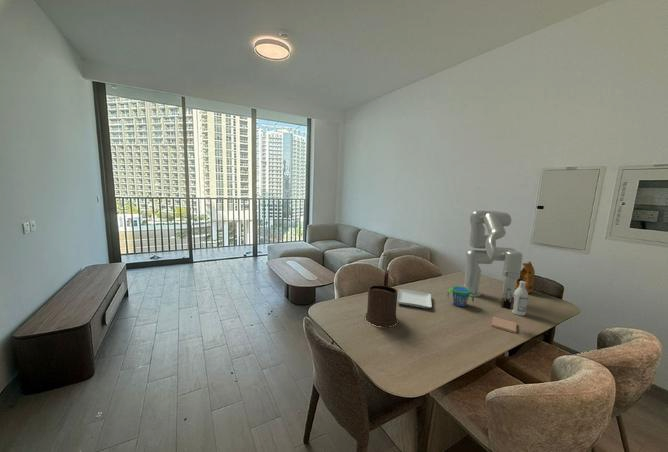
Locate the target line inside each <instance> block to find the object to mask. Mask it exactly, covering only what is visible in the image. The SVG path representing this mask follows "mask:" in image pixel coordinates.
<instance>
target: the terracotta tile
mask: <svg viewBox="0 0 668 452" xmlns="http://www.w3.org/2000/svg"><path fill="white" fill-rule="evenodd" d="M492 327H493V328H496V329H499V330H502V331H506V332H509V333H513V334H517V321H512V320H509V319H508V320H507V319H504V318H500V317H497V316H493V317H492V320H491V328H492Z"/></svg>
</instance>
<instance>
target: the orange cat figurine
mask: <svg viewBox="0 0 668 452" xmlns="http://www.w3.org/2000/svg"><path fill="white" fill-rule="evenodd" d="M521 266H523V267H522V268H521V271H520V278H519V279H516V286H515V290H516V289H517V288H518V287H519V284H520V281H524V282H526V286H525V289H526V290H527V292H528V294H531V293H532V292H533V288H534V283H535V275H536V273H535V267H534V266H533V263H532V262H531V261H527V263H525V262H524V263H522V264H521Z"/></svg>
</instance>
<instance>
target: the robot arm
mask: <svg viewBox="0 0 668 452" xmlns="http://www.w3.org/2000/svg"><path fill="white" fill-rule="evenodd" d="M511 223H512V217H511V215H510V214H509V213H508V212H503V211H495V210H494V211H492V210H475V211H472V212H471V213H470V216H469V224H470V236H469V246H470V247H471V248H473V249H469V250H466V252H465V272H464V281H463V284H456V286H458V287H464V288H467V289H469V290H470V291H471V292H472V293H473V294H474V298H476V297H480V296H481V292H480V291H479V290H480V283H481V281H480V280H481V274H482V271H481V267H480V266H479V265H491V264H493V263H494V261H496V262H498V261H499V262H503V269H502V276H503V277H504V279H503V285H502V292H501V293H502V294H501V296H502V295H505V300H504V304H503V308H502V309H507V310H510V308H511V296H512V297H514V292H515V286H516V279H519V278H520V271H521V270H522V264H523V263H522V262H523V256H524V255H523V253H522V252H520V251H518V250H516V249H515V248H512V247H503V246H502V247H500V246H497V240H500V239H502V238H503V237H505V236H506V234H507V233H506V232H507V231H506V229H505V227H509V226H510V225H511ZM486 229H487V233H488V234H485V233H486ZM484 249H485V250H484ZM472 293H470V295H469V297H473V295H472ZM506 296H507V297H506Z"/></svg>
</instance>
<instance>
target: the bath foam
mask: <svg viewBox="0 0 668 452" xmlns="http://www.w3.org/2000/svg"><path fill="white" fill-rule="evenodd" d="M525 286H526V282H524V281H520V284H519V287H518V288H517V289H516V290H515V291H514V295H513V297H514V306H513V310H511V312H512V314H515V315H517V316H525V315H526V314H527V313H526V312H527V306H528V300H529V293H528V292H527V290H526V289H525Z"/></svg>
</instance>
